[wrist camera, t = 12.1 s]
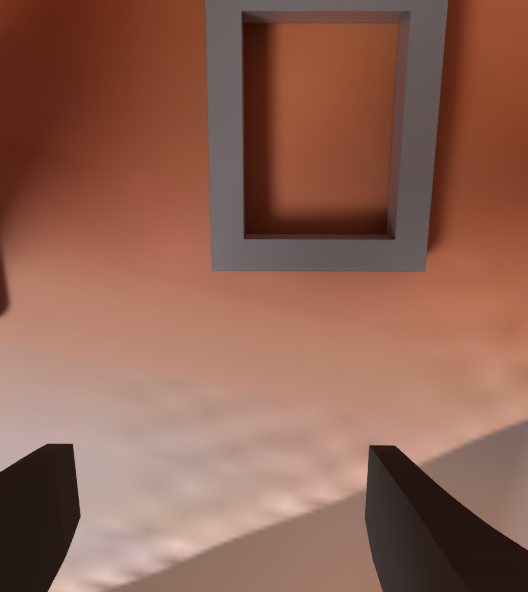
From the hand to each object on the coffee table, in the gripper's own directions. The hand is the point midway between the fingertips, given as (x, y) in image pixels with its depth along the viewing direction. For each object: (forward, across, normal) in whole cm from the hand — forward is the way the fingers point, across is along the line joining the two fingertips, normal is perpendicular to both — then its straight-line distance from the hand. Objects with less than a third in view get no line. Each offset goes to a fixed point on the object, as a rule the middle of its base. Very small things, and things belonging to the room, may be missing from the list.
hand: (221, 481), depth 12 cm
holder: (+9, -3, -8) cm, 13 cm away
